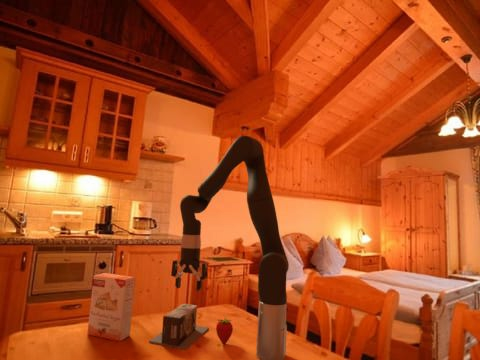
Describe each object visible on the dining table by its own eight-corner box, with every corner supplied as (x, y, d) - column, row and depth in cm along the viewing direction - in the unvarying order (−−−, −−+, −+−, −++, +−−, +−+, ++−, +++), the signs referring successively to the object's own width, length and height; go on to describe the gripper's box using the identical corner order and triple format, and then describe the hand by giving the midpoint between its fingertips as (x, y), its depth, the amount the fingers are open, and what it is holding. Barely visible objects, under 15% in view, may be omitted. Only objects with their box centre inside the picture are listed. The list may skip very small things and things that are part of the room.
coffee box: (196, 329, 116) (178, 347, 100) (180, 327, 117) (160, 344, 101) (197, 305, 116) (180, 318, 101) (182, 303, 118) (162, 316, 102)
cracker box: (86, 335, 106) (92, 274, 109) (98, 329, 112) (104, 272, 114) (119, 342, 102) (125, 279, 105) (130, 336, 108) (136, 276, 110)
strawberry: (215, 349, 101) (216, 318, 102) (215, 339, 109) (216, 311, 110) (232, 349, 101) (234, 318, 103) (231, 340, 109) (232, 311, 110)
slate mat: (209, 329, 118) (209, 327, 118) (185, 349, 99) (186, 348, 99) (177, 323, 122) (177, 322, 122) (149, 342, 103) (149, 340, 103)
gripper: (169, 245, 116) (166, 289, 114) (203, 248, 112) (201, 293, 110) (179, 244, 123) (176, 285, 121) (211, 246, 119) (209, 289, 117)
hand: (188, 289), depth 116 cm, fingers open, 8 cm apart
